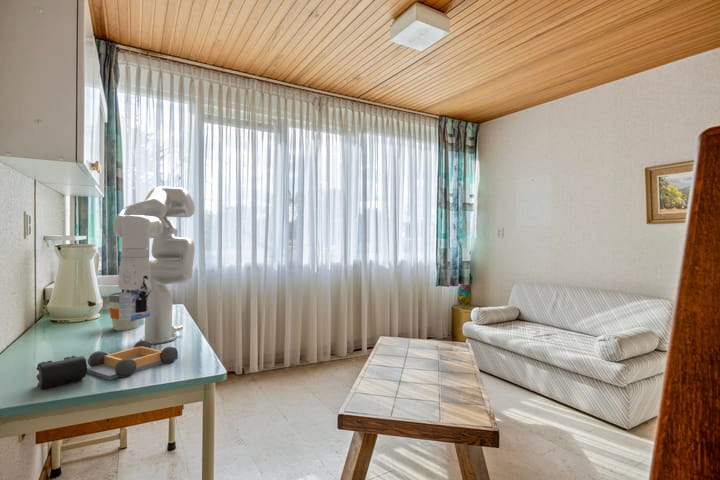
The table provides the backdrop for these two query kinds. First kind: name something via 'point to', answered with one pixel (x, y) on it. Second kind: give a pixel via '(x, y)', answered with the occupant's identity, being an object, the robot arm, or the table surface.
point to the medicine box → (131, 307)
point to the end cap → (61, 371)
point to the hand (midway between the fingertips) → (135, 310)
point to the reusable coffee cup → (115, 314)
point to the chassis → (129, 360)
